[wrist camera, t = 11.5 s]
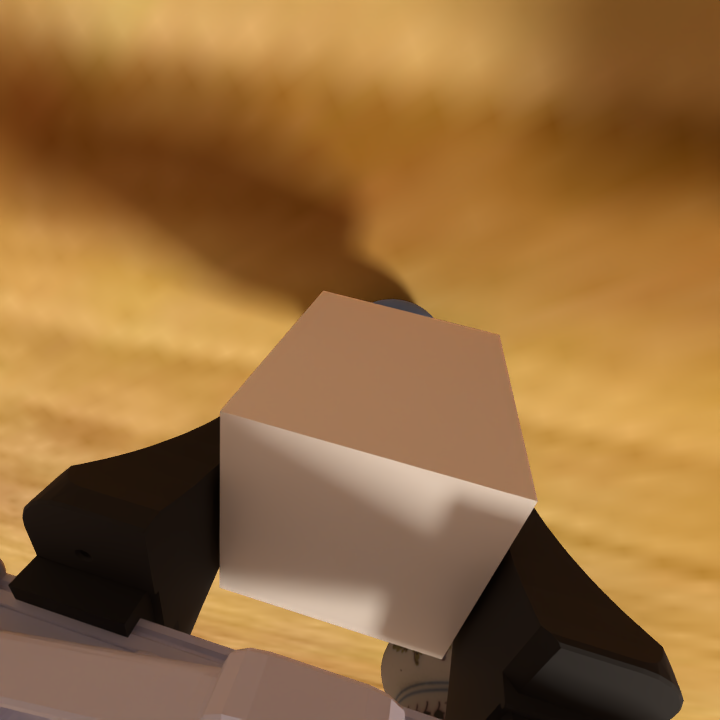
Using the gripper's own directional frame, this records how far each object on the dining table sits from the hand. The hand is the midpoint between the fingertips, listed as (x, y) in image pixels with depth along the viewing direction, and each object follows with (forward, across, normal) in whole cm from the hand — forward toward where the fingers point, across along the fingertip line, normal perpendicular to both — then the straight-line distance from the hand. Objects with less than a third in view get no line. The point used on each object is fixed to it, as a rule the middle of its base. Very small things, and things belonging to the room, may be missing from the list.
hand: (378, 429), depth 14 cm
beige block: (+2, 0, -1) cm, 2 cm away
